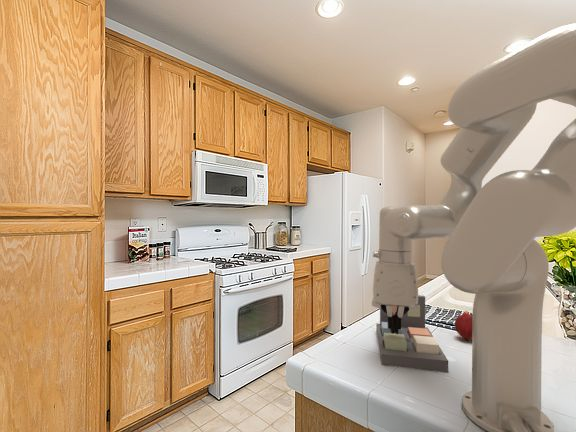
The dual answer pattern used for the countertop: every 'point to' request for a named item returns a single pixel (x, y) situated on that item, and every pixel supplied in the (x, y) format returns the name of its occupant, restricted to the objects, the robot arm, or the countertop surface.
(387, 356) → the keypad
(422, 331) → the terracotta key
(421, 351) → the cream key
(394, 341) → the sage key
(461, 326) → the red spiky ovoid
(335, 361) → the countertop surface
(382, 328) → the slate key
